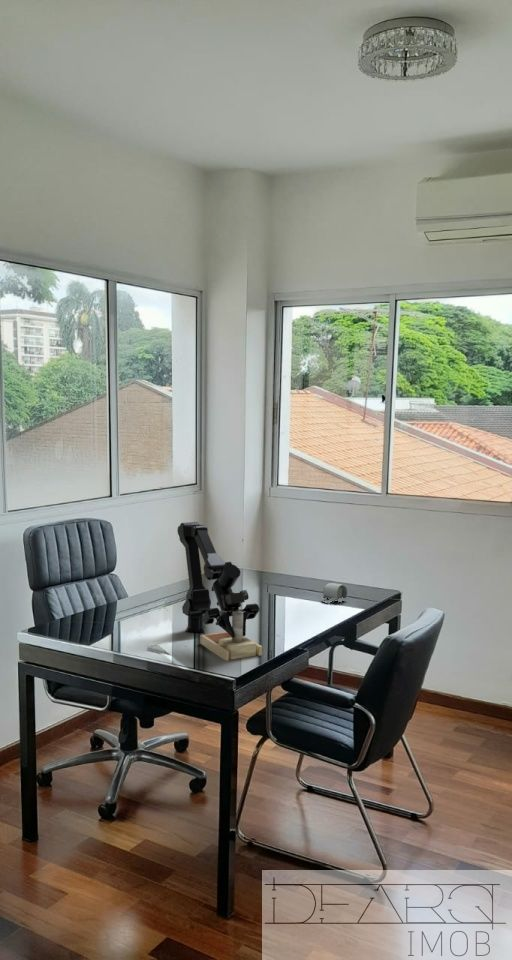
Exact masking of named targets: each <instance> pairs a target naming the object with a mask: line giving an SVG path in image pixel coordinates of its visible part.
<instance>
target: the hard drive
mask: <svg viewBox="0 0 512 960" xmlns="http://www.w3.org/2000/svg"><path fill="white" fill-rule="evenodd" d="M167 643H168V641H167V642H166V641H159V642H156V643H154V644H151V645H149V646H147V648H146V649H147V651H150V652H154V653H158V654H163V655H167V656H170V657H171V656H172V654H171V653H169V652H168V651H166V650H165V649H164V648H162V647H161V646H160V645H162V644H167Z"/></svg>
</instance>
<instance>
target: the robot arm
mask: <svg viewBox="0 0 512 960" xmlns="http://www.w3.org/2000/svg"><path fill="white" fill-rule="evenodd" d="M176 532H177V535H178V537H179V541H180V543H181V544H182V545H183V547H184V548H185V556H186V557H185V558H186V567H187V568H186V569H187V575H188V583H189V584H188V585H189V588H188V590H187V592H186V596H185V599H186V600H185V601H184V603H183V605H182V606H181V609H182V614H184V615H186V616H187V626H186V629H185V632H186V633H204V632H205V630H206V626H205V625H212V624H213V623H214V621H215V620H216V622H215V625H216V626H218V627H220V628H221V629H223V630H224V632H227V633H228V634H229V635H230V636H231V637H232V638H234V637H235V635H234V631H233V628H232V622H231V621H230V617H232V612H234V611H241V612H243V636H245V637H246V635H247V634H246V632H247V631H246V630H247V628H246V627H247V625H246V623H247V620H253V619H255V618H256V617H257V615H258V613H259V612H260V611H261V609H260V606H259V604H257V603H249V604H248V603H246V605H245V607H243V608H241V607H242V604H243V603H245V602H246V601H248V600H249V599H250V598H249V593H248V591H247V589H244V590H243V589H242V590H241V591H239V592H233V589H232V587H234V586H235V584H236V583H237V581H238V580H239V577H240V576H241V569H240V568H239V567H238V566H237V565H235V564H233V563H232V561H225V560H224V559H223V558H222V557H221V556H220V555H218V553H217V551H216V549H215V547H214V544H213V542H212V540H211V537H210V534H209V530H208V527H207V526H206V525H204V524H200V523H199V522H197V521H194V522H193V521H192V522H181V523H180V524H179V525H178V527H177V531H176ZM200 554H201V556H202V559H203V561H204V565H203V572H204V576H205V578H206V579H207V580H208V581H214V582H213V583H212V587H211V589H208V588H205V586H204V582H203V581H204V580H203V576H202V575H203V574H202V567H201V566H202V565H201V557H200ZM209 590H211V592H214V594H215V598H216V600H217V601H216V605H217V606H219V608H218V607H215V608H214V607H212V608H211V605H212V602H211V601H212V600H211V597H210V591H209Z"/></svg>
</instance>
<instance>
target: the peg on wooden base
mask: <svg viewBox="0 0 512 960" xmlns="http://www.w3.org/2000/svg"><path fill="white" fill-rule="evenodd" d="M231 618H232V619H231V626H232V628H233V631H234V635H235V637H234V638H224V639H219V642H218V645H220V646H221V647H223V648H225V649H226V650H228V651H229V660H234V659H241V658H242V659H243V658H248V657H249V658H250V657H254V656H255V657H256V655H257V654H256V643H257V642H255V641H254V642H255V643H254V642H253V640H252V639H250V638H248V637H247V636H245V637H244V636H243V612H241V611H234V612H232V616H231ZM246 637H247V638H246ZM249 639H250V640H249ZM251 640H252V641H251Z"/></svg>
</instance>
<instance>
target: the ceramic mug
mask: <svg viewBox="0 0 512 960" xmlns="http://www.w3.org/2000/svg"><path fill="white" fill-rule="evenodd" d="M322 593H323V595H322V596H321V601H322V600H323V598H325V599H324V600H325V601H333V602H335V600H337V601H338V599H339V598H342V597H343V598H346V599H347V598H348V587H347V585H345V584H342V583H335V582H331V583H330V582H328V583H327V584H325V586H324V587H323V591H322ZM326 598H329V599H330V600H328V599H326Z"/></svg>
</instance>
